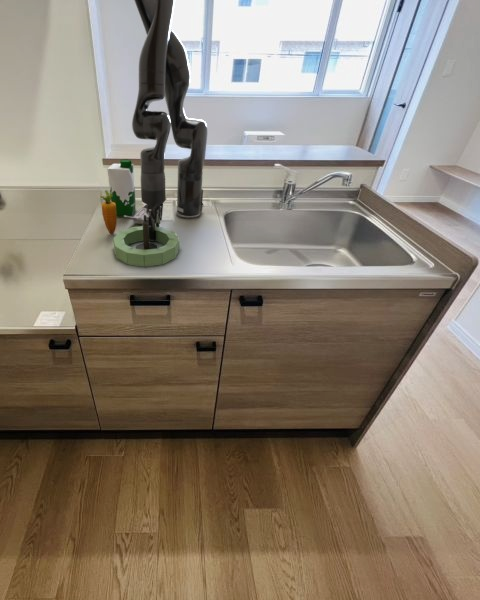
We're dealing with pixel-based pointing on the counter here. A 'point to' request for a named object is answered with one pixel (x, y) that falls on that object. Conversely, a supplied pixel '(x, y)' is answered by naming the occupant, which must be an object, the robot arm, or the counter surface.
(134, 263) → the ring
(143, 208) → the mobile phone
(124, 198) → the milk carton
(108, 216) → the carrot
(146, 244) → the peg stand
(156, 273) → the counter surface
